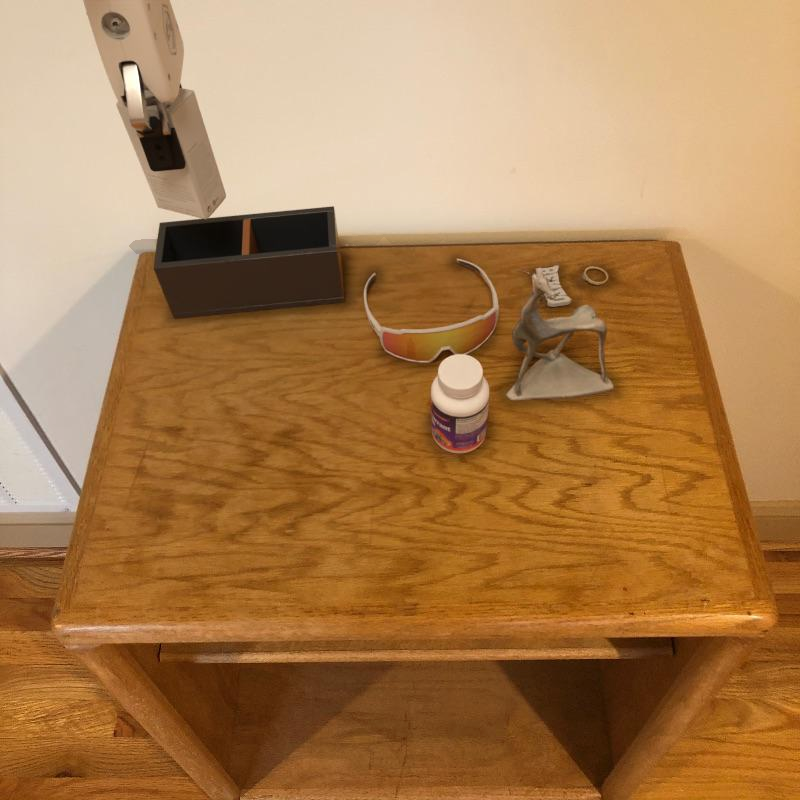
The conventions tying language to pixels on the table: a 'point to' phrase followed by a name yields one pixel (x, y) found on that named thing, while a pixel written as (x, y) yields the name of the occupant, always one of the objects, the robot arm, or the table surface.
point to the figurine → (555, 351)
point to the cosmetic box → (200, 179)
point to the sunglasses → (437, 332)
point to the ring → (594, 281)
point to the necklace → (553, 286)
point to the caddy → (250, 262)
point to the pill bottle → (459, 404)
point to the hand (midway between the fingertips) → (171, 143)
